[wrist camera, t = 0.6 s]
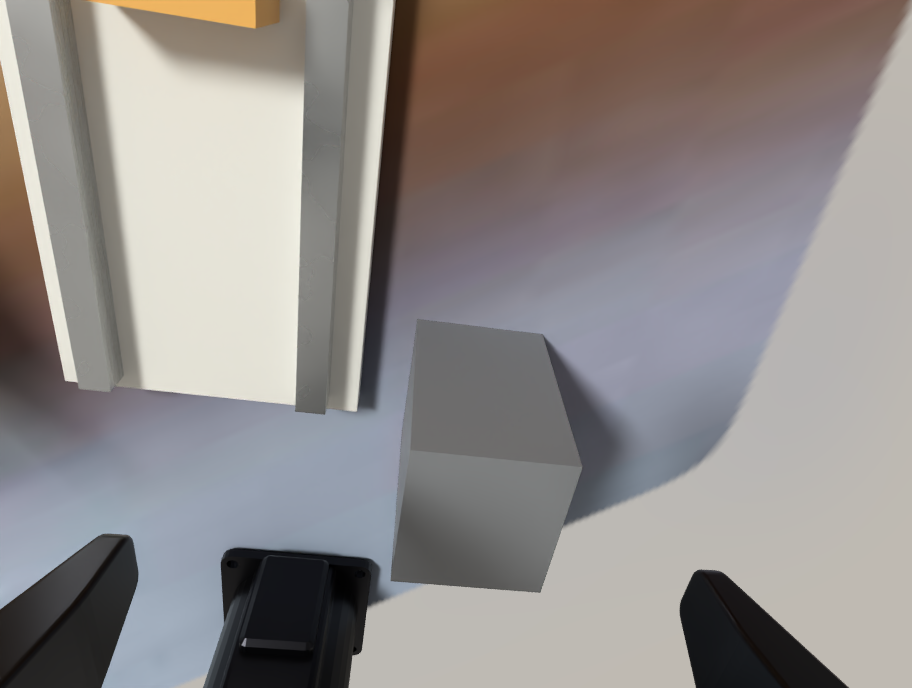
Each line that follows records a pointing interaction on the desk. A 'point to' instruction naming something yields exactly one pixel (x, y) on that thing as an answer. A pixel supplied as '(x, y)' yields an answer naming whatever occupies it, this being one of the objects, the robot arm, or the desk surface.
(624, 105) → the desk surface
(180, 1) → the bar
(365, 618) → the robot arm
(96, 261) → the rail plate
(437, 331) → the block
